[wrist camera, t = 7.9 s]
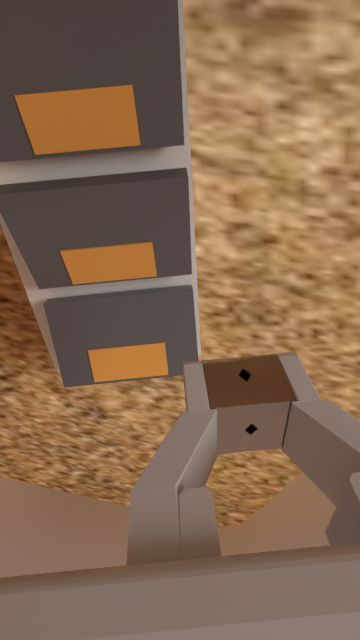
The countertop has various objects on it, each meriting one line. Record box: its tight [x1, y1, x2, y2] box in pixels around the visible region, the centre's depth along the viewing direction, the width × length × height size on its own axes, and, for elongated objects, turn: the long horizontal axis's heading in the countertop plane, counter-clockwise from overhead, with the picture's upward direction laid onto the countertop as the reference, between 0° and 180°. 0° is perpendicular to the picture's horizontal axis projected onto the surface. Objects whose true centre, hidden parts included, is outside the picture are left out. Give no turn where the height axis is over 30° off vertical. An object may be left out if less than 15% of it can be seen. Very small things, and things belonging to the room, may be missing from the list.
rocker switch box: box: [0, 0, 201, 370], centre depth 21 cm, size 21×11×4 cm, turn 5°
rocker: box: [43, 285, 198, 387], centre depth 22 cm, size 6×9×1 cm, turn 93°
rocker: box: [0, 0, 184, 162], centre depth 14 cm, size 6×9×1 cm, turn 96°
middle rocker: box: [0, 168, 192, 289], centre depth 18 cm, size 6×9×1 cm, turn 97°
